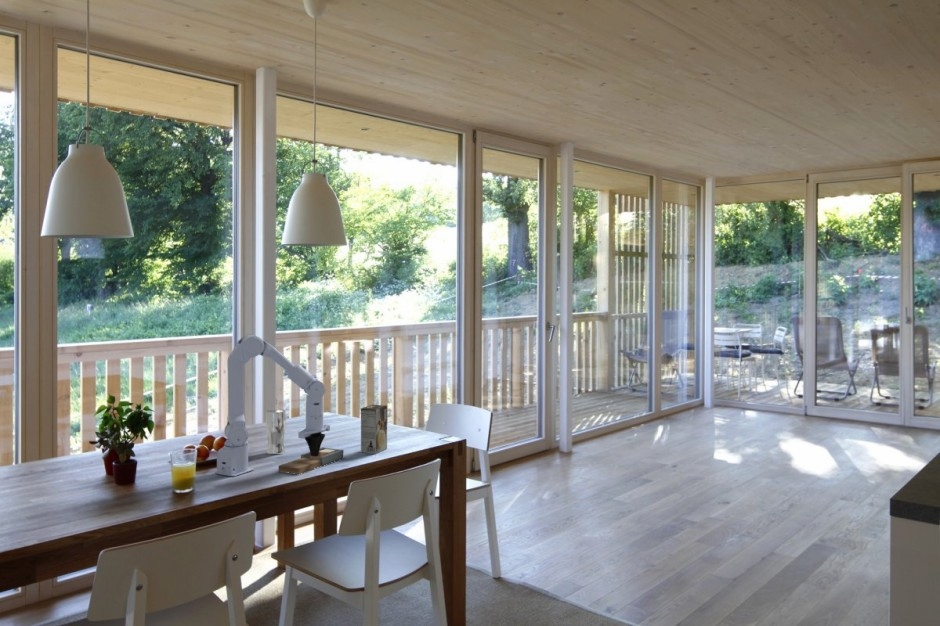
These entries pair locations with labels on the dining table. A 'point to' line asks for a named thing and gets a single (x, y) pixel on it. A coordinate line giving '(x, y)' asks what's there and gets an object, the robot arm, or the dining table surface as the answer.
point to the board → (300, 465)
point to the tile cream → (327, 451)
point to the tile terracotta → (319, 455)
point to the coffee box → (373, 429)
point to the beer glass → (275, 430)
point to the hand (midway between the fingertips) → (314, 455)
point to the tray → (326, 456)
